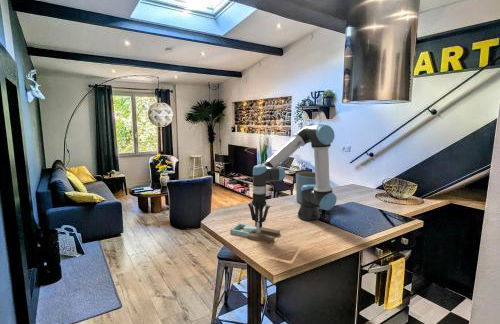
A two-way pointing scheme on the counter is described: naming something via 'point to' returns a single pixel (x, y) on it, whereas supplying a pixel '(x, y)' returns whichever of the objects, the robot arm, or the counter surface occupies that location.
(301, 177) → the planter
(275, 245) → the counter surface
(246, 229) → the grey cube-shaped block
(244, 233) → the tray
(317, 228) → the counter surface
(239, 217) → the counter surface
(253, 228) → the grey wood-grain cube
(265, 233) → the slot board
